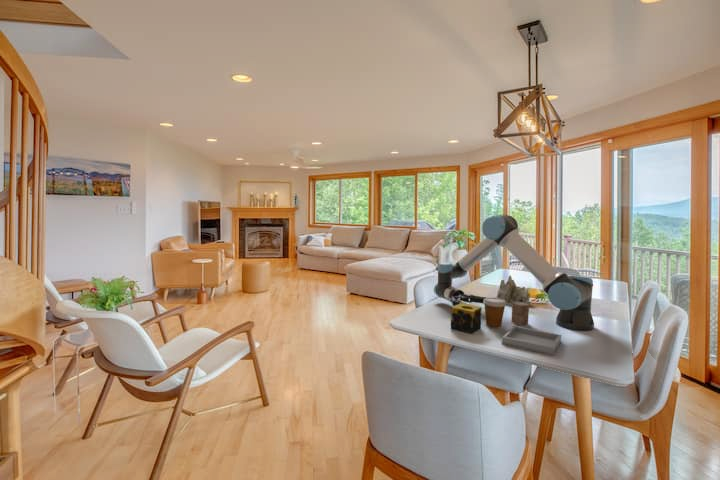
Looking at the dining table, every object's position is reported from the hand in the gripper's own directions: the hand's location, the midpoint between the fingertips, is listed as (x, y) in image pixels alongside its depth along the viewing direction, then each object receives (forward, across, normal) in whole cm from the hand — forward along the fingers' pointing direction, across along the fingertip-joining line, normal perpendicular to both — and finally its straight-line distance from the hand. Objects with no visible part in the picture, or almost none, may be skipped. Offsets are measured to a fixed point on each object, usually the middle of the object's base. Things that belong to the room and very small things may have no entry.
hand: (481, 305), depth 174 cm
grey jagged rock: (-23, -40, -7) cm, 46 cm away
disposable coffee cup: (+9, 0, -7) cm, 11 cm away
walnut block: (+9, -15, -7) cm, 19 cm away
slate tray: (+31, 0, -7) cm, 31 cm away
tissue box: (+9, +15, -7) cm, 19 cm away
